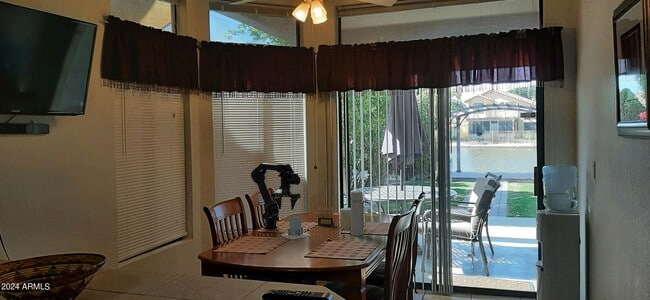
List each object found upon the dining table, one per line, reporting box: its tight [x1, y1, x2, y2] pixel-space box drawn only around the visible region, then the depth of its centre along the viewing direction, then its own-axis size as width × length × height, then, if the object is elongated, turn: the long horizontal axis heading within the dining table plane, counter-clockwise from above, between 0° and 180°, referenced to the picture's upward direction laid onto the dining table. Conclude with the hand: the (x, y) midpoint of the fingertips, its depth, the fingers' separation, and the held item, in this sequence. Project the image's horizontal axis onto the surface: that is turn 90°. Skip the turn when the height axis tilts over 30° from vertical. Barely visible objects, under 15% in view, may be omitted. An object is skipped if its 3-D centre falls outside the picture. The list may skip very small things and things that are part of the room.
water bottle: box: [350, 190, 367, 237], centre depth 277 cm, size 9×8×25 cm
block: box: [288, 215, 302, 235], centre depth 278 cm, size 5×5×10 cm
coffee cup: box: [339, 207, 351, 230], centre depth 299 cm, size 9×9×12 cm
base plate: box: [281, 226, 311, 240], centre depth 279 cm, size 12×12×5 cm
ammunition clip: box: [317, 206, 335, 227], centre depth 310 cm, size 11×2×12 cm, turn 69°
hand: (286, 209), depth 296 cm, fingers open, 9 cm apart
